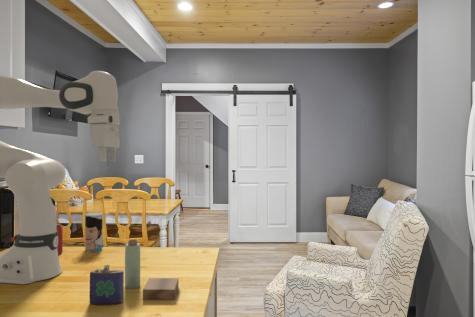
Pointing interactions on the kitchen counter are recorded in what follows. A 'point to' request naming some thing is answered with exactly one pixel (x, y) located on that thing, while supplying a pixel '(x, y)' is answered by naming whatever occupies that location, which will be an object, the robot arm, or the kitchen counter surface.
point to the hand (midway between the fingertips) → (107, 161)
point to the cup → (93, 231)
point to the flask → (106, 286)
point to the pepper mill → (132, 264)
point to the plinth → (160, 289)
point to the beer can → (59, 238)
